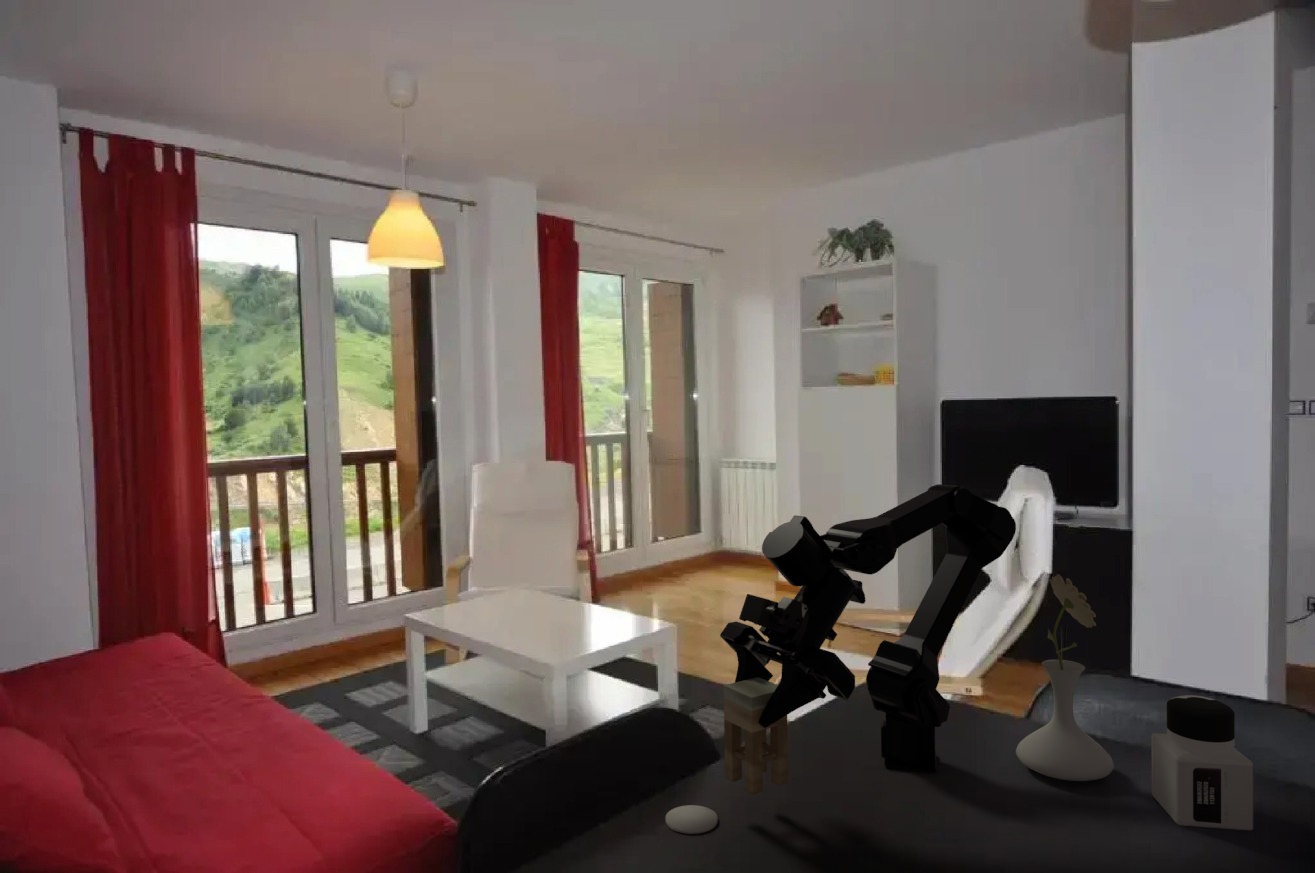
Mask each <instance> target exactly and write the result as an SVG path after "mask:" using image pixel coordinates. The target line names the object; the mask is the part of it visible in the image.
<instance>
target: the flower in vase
mask: <svg viewBox="0 0 1315 873" xmlns="http://www.w3.org/2000/svg"><path fill="white" fill-rule="evenodd" d="M1049 582H1050V584H1051V585H1050V586H1051V589H1052V592H1053V594H1054V596H1055V597H1056V598H1057V599H1058V600H1059V601H1058V602H1060V604H1061V605H1062V607H1061V609H1060V611H1059V614H1058V615H1057V619H1056V621H1055V624H1054V628H1053V633H1052V632H1051V630H1050V629H1047V631H1048V632H1047V633H1048V634H1047V638H1048V640H1051V641H1052V642H1053V643H1054V647H1055V651H1056V652H1055V653H1056V655H1057V659H1047V660H1043V661H1042V662H1041V665H1042V667H1043V668H1044V669H1045V671H1046V673H1047V674H1048V676H1049V678H1050V682H1051V686H1052V692H1053V713H1052V714H1053V715H1052V718H1051V720H1050V721H1049V722H1048V723H1047V724H1045V725H1044V726H1042V727H1040V728H1038V729H1037V730H1035V731H1033V732H1032V733H1030V734H1028V735H1026V736H1025V737H1024V738H1023V739H1022V740H1021V741H1019V743H1018V744H1017V747H1016V749H1015V754H1016V756H1017V757H1018V759H1019V761H1020V762H1021V763H1022V764H1023V765H1024V766H1025V767H1027V768H1028V769H1030V770H1033V771H1034V772H1037V773H1039V774H1041V775H1044V776H1046V777H1049V778H1054V779H1059V780H1064V781H1070V782H1072V781H1073V782H1087V781H1096V780H1100V779H1104V778H1106V777H1108V776H1109V775H1110V774H1111V773H1112V771H1113V770H1114V768H1115V765H1114V761H1113V759H1112V757H1111V755H1110V754H1109V753H1108V752H1107V751H1106V750H1105V748H1104V747H1103V746H1102V745H1101V744H1099V743H1098V742H1097V741H1096V740H1094V739H1093V738H1092V737H1091V736H1089V734H1087V733H1086V732H1085V731H1084V730H1083V729H1081V727H1080V726H1079V725H1078V724H1077V721H1076V720H1075V715H1074V694H1075V689H1076V685H1077V682H1078V680H1079V678H1080V675H1081V674H1082V673H1083V672H1084V670H1086V666H1085V665H1083V664H1081V663H1079V662H1076V661H1074V660H1073V661H1072V660H1067V659H1062V656H1061V653H1064V652H1066V651H1067V650H1070V649H1073V648H1076V647H1078V644H1077V643H1076V642H1075V641H1074V642H1073V643H1071V645H1070V646H1066V647H1064V648H1061V649H1060V650H1059V644H1058V640H1057V639H1058V638H1057V630H1058V626H1059V623H1060V620H1061V619H1062V616H1063V614H1064V612H1065V611H1066V612H1067V613H1068V614H1070V615H1071V616H1072V618H1073V619H1074V620H1076V621H1077V622H1078V623H1079V624H1080V625H1082V626H1085V628H1086V629H1088V628H1089V629H1090V628H1093V627H1096V626H1097V623H1096V621H1095V620H1094V618H1096V617H1097V615H1096V613H1095V612H1094V610H1092V609H1091V608H1092V607H1091V605H1090V604H1089V603H1087V600H1088V599H1087V595H1086V594H1084V593H1083V592H1079V590H1078V588H1077V587H1076V586H1075V585H1073V582H1072V580H1071V579H1070V578H1068V577H1067V578H1066V579H1065V581H1064V578H1063V576H1061V574H1058V573H1057V574H1056V575H1054V576H1051V578H1049Z"/></svg>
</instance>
